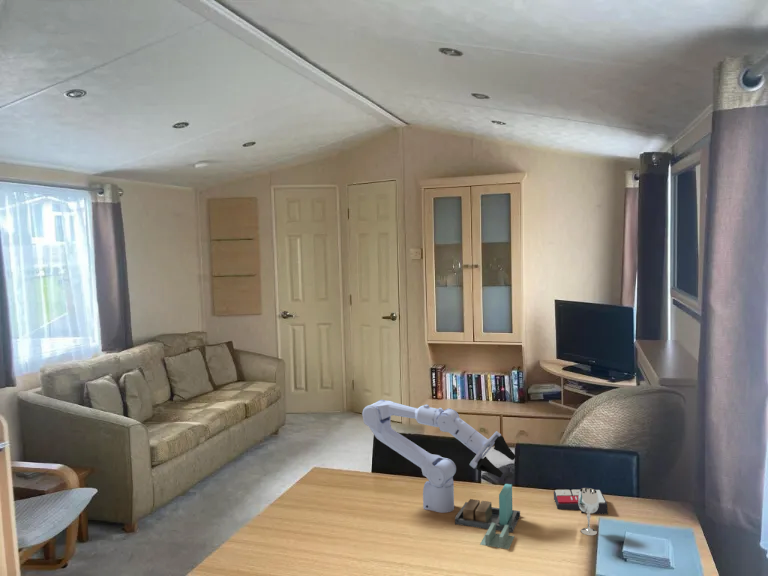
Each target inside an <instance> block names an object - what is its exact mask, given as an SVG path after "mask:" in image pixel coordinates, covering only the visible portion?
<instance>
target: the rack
mask: <svg viewBox="0 0 768 576" xmlns="http://www.w3.org/2000/svg"><path fill="white" fill-rule="evenodd" d="M467 503H468V501H465V503H464V504H463V505H462V507H461V508H460V510H459V511H458V512H457V514H456V515H455V517H454V524H455V525H458V526H464V527H465V526H466V527H472V528H476V529H477V528H478V529H485V530H488V529H489V527H490V525H491V523H495V527H496V531H497V532H502V530H503V528H504V526H505V525H502V524H500V520H499V507H494V506H492V515H491V517H490V519H489V520H488V522H481V521H476V520H468V519H463V509H464V507H465V506H466V504H467ZM512 510H513V514H512V516H511V518H510V520H509V522H508V524H507V525H509V534H511V533H514V530H515V528H516V526H517V523H518V522H519V520H520V518H521V510H514V509H512Z"/></svg>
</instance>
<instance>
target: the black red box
mask: <svg viewBox="0 0 768 576" xmlns="http://www.w3.org/2000/svg"><path fill="white" fill-rule="evenodd" d="M595 490H596V491H597V494H598V499H599V508H598V510H597V511H596V512H594V514H593V515H608V514H609V512H608V511H609V510H608V508H609V507H608V502H607V500H606V498H605V496H604V494H603V492H602V491H601V490H600V489H595ZM579 491H580V489H571V490H570V489H555V490H553V500H555V501H554V503H555V505H556V509H557V510H567V511H569V510H571V511H581V513H580V514H586V513H585V512H583V511H582V510H581V509H580V508H579V506H578V495H579Z"/></svg>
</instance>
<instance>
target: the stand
mask: <svg viewBox="0 0 768 576" xmlns="http://www.w3.org/2000/svg"><path fill="white" fill-rule="evenodd" d="M496 531H497V530H496V527H495V523H491V525H490V527H489V529H487V530H486V533H485V534H484V536H483V538H482V539H481V541H480V544H479V545H480V546H487V547H493V548H500V549H505V550H510V548H511V545H512V544H513V540H514V539H515V536H514V535H510V532H509V525H505V526H504V528H503V530H502V531H500V533H496Z"/></svg>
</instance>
